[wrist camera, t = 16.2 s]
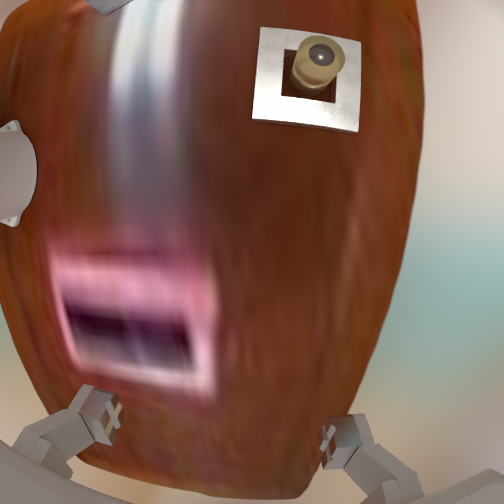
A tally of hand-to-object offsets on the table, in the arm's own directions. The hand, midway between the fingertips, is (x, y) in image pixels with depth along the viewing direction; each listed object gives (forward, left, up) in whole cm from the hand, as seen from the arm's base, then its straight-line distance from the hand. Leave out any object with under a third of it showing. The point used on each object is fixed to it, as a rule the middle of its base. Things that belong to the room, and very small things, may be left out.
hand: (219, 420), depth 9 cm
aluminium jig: (+5, +20, -28) cm, 35 cm away
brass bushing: (+5, +20, -28) cm, 35 cm away
